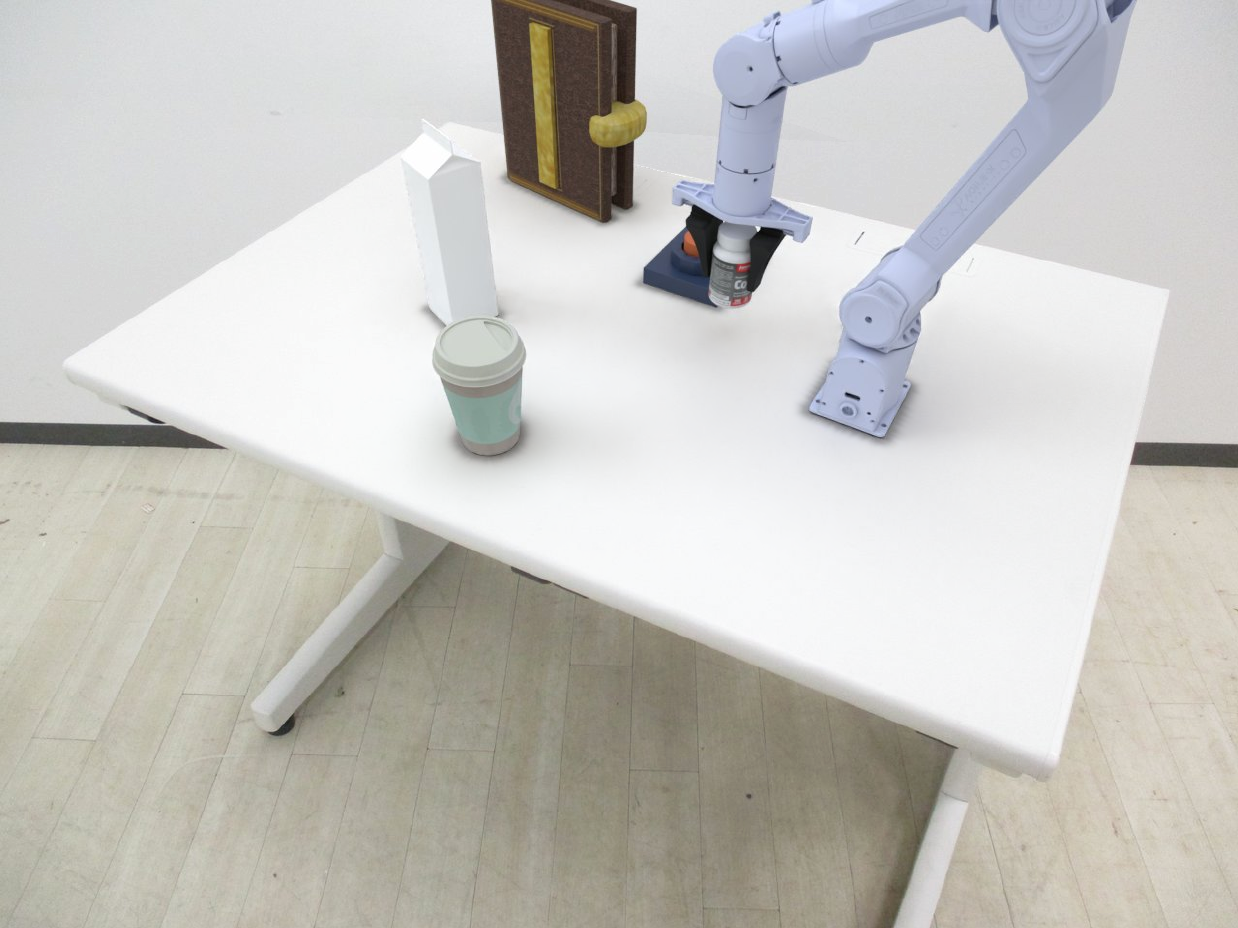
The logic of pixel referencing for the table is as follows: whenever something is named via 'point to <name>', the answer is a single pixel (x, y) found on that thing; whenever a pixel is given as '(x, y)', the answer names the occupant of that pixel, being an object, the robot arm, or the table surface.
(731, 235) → the pill bottle
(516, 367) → the coffee cup
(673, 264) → the block
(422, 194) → the milk
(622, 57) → the book
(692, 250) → the orange push button
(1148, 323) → the table surface
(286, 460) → the table surface
